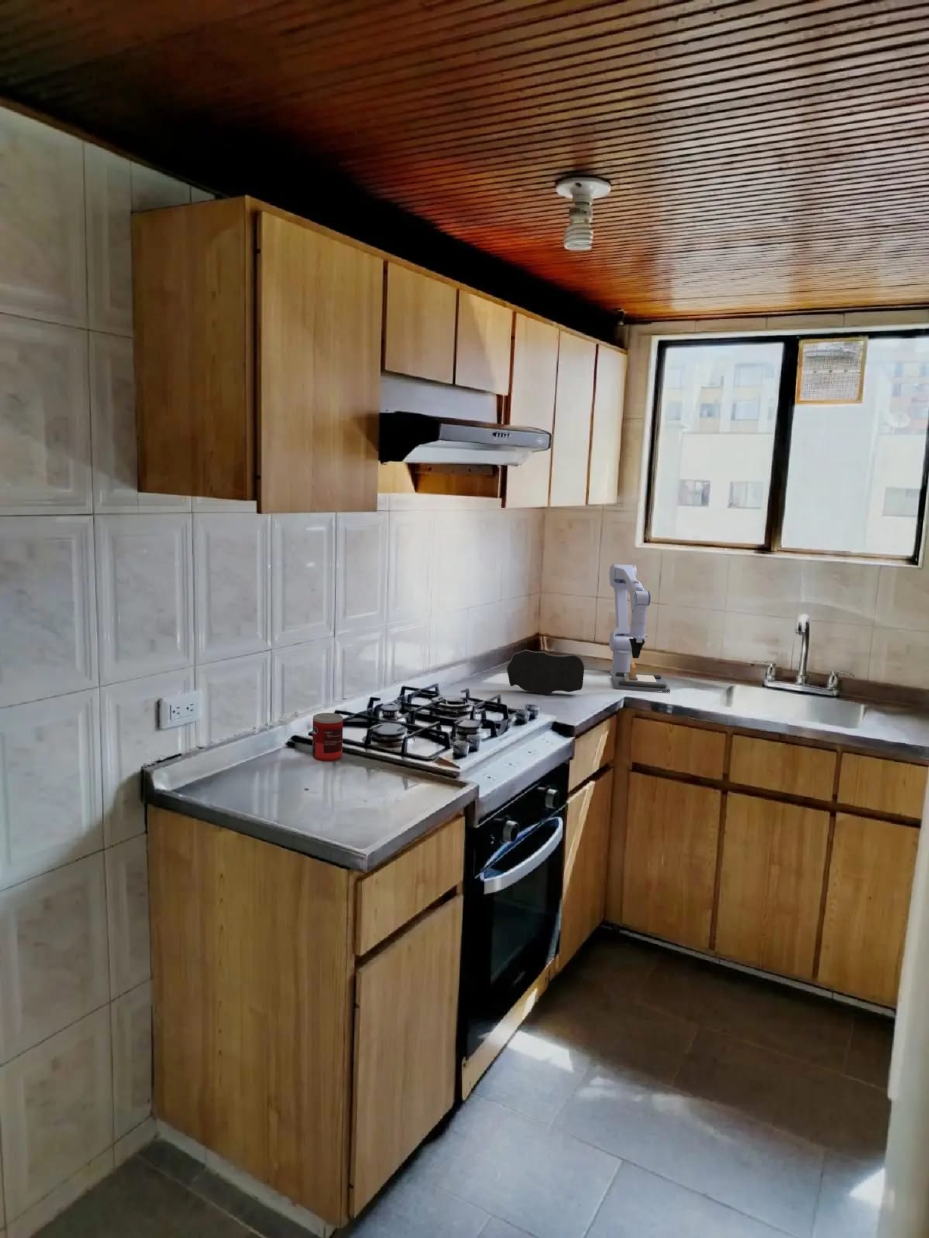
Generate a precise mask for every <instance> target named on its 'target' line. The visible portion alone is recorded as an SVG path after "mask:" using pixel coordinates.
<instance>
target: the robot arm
mask: <svg viewBox="0 0 929 1238" xmlns="http://www.w3.org/2000/svg"><path fill="white" fill-rule="evenodd" d="M608 574H609V585H610V586H611V587H612V588H613V592H614V593H613V594H614V606H615V608H614V609H615V625H616V627H615V628H614V629H613V630H612V631H611V632H610V633H609V641H608V647H609V650H610V651H611V652H612V661H611V668H610V669H609V672H610V676H612V675H615V673H616V672H624V673H627V672H630V662H632V659H639V658H640V655H641V651H642V648H643V647H644V645H645V643H646V641H645V639H644V638H646V637H647V638H649V634H647V633H646V630H647V616H648V607H649V606H650V604H651V600H652V599H651V598H652V596H651V592H650V591H649V590H647V589H644V586H643V584H642V583H641V581H639V580H638V579H637V574H638V569H637V566H636V564H615V563H612V564H611V565H610V568H609V571H608ZM627 592H628V594H629V596H630V597H629V601H630V602H629V603H630V610H631V612H630V613H631V615H630V624H629V610H628V597H627V596H628V595H627ZM629 626H630V627H629Z"/></svg>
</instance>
